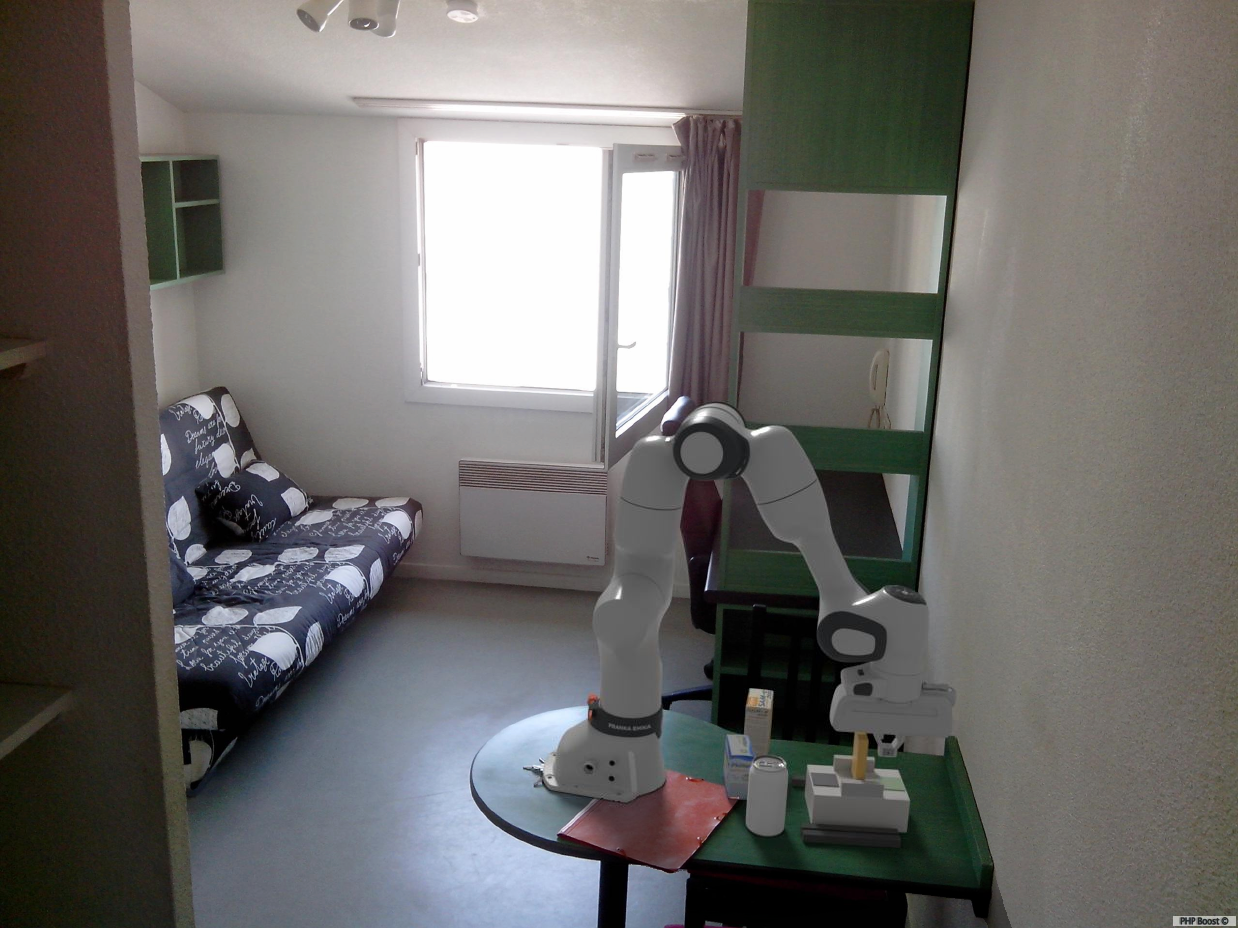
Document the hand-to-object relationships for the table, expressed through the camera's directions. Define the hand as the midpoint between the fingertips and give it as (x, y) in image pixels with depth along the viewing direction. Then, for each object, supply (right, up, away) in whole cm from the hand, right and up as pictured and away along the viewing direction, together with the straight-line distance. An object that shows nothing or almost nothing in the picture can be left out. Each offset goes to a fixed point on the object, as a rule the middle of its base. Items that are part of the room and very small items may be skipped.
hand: (886, 755), depth 180 cm
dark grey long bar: (-6, -9, +11) cm, 16 cm away
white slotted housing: (-5, -11, +3) cm, 12 cm away
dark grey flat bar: (-7, -12, -4) cm, 15 cm away
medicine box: (-25, -9, +10) cm, 28 cm away
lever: (-5, -4, +1) cm, 6 cm away
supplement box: (-20, -7, +19) cm, 29 cm away
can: (-21, -12, -2) cm, 24 cm away
